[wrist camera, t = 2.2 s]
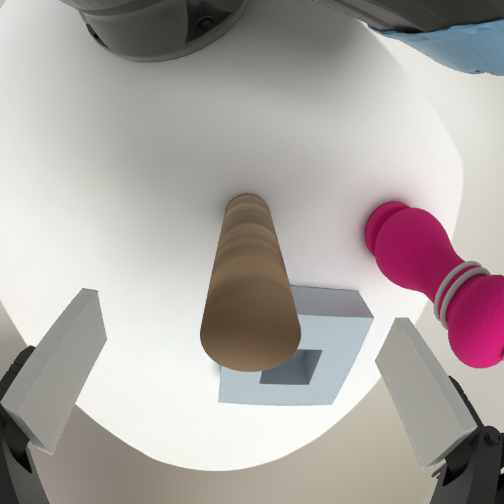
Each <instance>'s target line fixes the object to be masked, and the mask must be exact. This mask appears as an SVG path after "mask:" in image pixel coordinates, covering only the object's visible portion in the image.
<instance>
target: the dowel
mask: <svg viewBox="0 0 504 504" xmlns="http://www.w3.org/2000/svg"><path fill="white" fill-rule="evenodd" d="M200 340H201V344H202V346H203V348H204V350H205V352H206V353H207V354H208V355H209V357H210V358H212V359H213V360H214V361H215V362H217V363H218V364H220V365H222V366H224V367H226V368H229V369H232V370H236V371H241V372H259V371H264V370H268V369H271V368H274V367H276V366H279V365H280V364H282V363H284V362H285V361H286V360H288V359H289V358H290V357H291V356H292V355H293V354H294V353H295V351H296V350H297V348H298V346H299V344H300V340H301V327H300V323H299V319H298V315H297V311H296V307H295V303H294V299H293V296H292V292H291V288H290V284H289V280H288V276H287V273H286V269H285V265H284V261H283V258H282V254H281V250H280V247H279V243H278V239H277V236H276V232H275V229H274V225H273V221H272V218H271V214H270V211H269V208H268V206H267V204H266V203H265V202H264V200H262V199H261V198H260V197H258V196H255V195H251V194H244V195H240V196H238V197H236V198H234V199H233V200H232V201H231V202H230V203H229V204H228V206H227V208H226V212H225V216H224V220H223V225H222V229H221V234H220V238H219V242H218V247H217V252H216V256H215V261H214V266H213V270H212V275H211V280H210V285H209V289H208V294H207V299H206V304H205V309H204V314H203V319H202V325H201V330H200Z"/></svg>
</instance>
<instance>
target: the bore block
mask: <svg viewBox="0 0 504 504" xmlns="http://www.w3.org/2000/svg"><path fill="white" fill-rule="evenodd" d="M290 288H291V292H292V296H293V299H294V303H295V307H296V311H297V315H298V319H299V323H300V327H301V340H300V344H299V346H298V348H297V350H296V351H295V353H294V354H293V355H292V356H291V357H290V358H289V359H288V360H286V361H285V362H284V363H282V364H280V365H279V366H276V367H274V368H271V369H268V370H264V371H259V372H241V371H236V370H232V369H229V368H226V367H224V366H222V365H221V374H220V387H219V400H218V402H221V403H234V404H249V405H276V406H305V405H332V404H333V402H334V400H335V398H336V396H337V395H338V393H339V391H340V389H341V387H342V385H343V383H344V381H345V379H346V378H347V376H348V374H349V372H350V370H351V368H352V366H353V364H354V361H355V359H356V357H357V355H358V353H359V351H360V349H361V347H362V344H363V342H364V340H365V338H366V336H367V333H368V331H369V329H370V326H371V324H372V322H373V319H374V317H373V315H372V314H371V312H370V310H369V308H368V307H367V305H366V303H365V302H364V300H363V298H362V297H361V295H360V293H359V292H358V291H353V290H339V289H326V288H313V287H301V286H290Z"/></svg>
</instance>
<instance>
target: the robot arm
mask: <svg viewBox="0 0 504 504" xmlns="http://www.w3.org/2000/svg"><path fill="white" fill-rule="evenodd" d="M60 1H62V2H64V3H66V4H68V5H70V6H72V7H74V8H75V9H77V10H79V12H80V14H81V16H82V18H83V20H84V22H85V23H86V26H87V28H88V30H89V32H90V34H91V36H92V37H93V39H94V40H95V41H96V42H97V43H98V44H99V45H100V46H102V47H103V48H104V49H106V50H108V51H110V52H112V53H114V54H116V55H118V56H120V57H123V58H125V59H129V60H133V61H140V62H159V61H166V60H171V59H175V58H179V57H182V56H185V55H188V54H191V53H193V52H196V51H198V50H200V49H202V48H204V47H206V46H208V45H209V44H211V43H212V42H214V41H215V40H217V39H218V38H220V37H221V36H222V35H224V34H225V33H226V32H227V31H228V30H229V29H230V28H231V27H232V26H233V25H234V24H235V23H236V22H237V20H238V19H239V18H240V16H241V15H242V13H243V11H244V10H245V8H246V5H247V3H248V0H60ZM312 1H315V2H317V3H320V4H323V5H326V6H328V7H331V8H333V9H336V10H338V11H340V12H343V13H345V14H347V15H350V16H352V17H354V18H356V19H358V20H361V21H363V22H365V23H367V25H368V27H369V28H370V29H372V30H373V31H375V32H376V33H378V34H381V35H383V36H386V37H388V38H393V39H398V40H400V41H402V42H404V43H405V44H407V45H409V46H411V47H413V48H414V49H416V50H418V51H420V52H421V53H423V54H425V55H426V56H428V57H430V58H431V59H433V60H435V61H436V62H438V63H440V64H442V65H444V66H446V67H449V68H451V69H454V70H457V71H461V72H464V73H469V74H481V73H485V72H487V73H490V74H492V75H497V76H504V0H312ZM106 341H107V337H106V333H105V328H104V323H103V318H102V313H101V308H100V303H99V297H98V291H97V290H91V289H86V288H82V289H81V291H80V292H79V293H78V294H77V295H76V297H75V298H74V299H73V300H72V301H71V303H70V304H69V305H68V306H67V308H66V309H65V310H64V311H63V313H62V314H61V315H60V316H59V318H58V319H57V320H56V322H55V323H54V324H53V325H52V327H51V328H50V329H49V331H48V332H47V333H46V335H45V336H44V337H43V339H42V340H41V341H40V343H39V344H38V346H37V347H33V346H31V345H30V346H29V347H27V348H26V349H24V350H23V351H22V352H20V354H19V355H18V356H17V358H16V359H15V361H14V364H12V365H11V366H10V368H9V371H7V372H6V374H5V375H4V376H3V378H2V380H1V381H0V504H50V503H49V501H48V499H47V497H46V494H45V492H44V489H43V487H42V484H41V482H40V479H39V477H38V474H37V471H36V468H35V465H34V462H33V459H32V456H31V453H30V450H29V448H28V446H27V444H28V442H29V440H30V441H31V442H32V443H33V444H34V446H35V447H36V448H38V449H40V450H42V451H44V452H46V453H49V454H51V455H53V454H54V451H55V449H56V447H57V444H58V442H59V439H60V437H61V434H62V432H63V430H64V427H65V425H66V423H67V420H68V418H69V416H70V413H71V411H72V409H73V407H74V405H75V402H76V400H77V398H78V396H79V394H80V392H81V390H82V388H83V386H84V383H85V381H86V379H87V377H88V375H89V373H90V371H91V369H92V367H93V365H94V363H95V361H96V360H97V358H98V356H99V354H100V352H101V350H102V348H103V346H104V344H105V342H106ZM375 362H376V364H377V367H378V369H379V371H380V373H381V375H382V377H383V379H384V382H385V384H386V386H387V388H388V390H389V392H390V395H391V397H392V399H393V401H394V404H395V406H396V408H397V410H398V413H399V415H400V418H401V420H402V422H403V425H404V427H405V430H406V432H407V434H408V437H409V439H410V442H411V444H412V447H413V449H414V452H415V455H416V457H417V460H418V462H419V465H420V467H421V470H425V469H428V468H430V467H433V466H436V465H437V464H438V463H439V462H440V461H441V460H443V459H444V458H445V460H446V463H445V464H444V465H442V466H441V467H440V468H439V469H437V470H436V471H435V472H434V473H433V474H432V477H434V476H435V475H437V474H438V473H439V472H440V475H438V476H437V477H436V478H437V479H438V482H437V485H436V488H435V491H434V494H433V496H432V499H431V502H430V504H504V473H503V474H501V471H500V470H501V469H502V468H503V467H504V433H500V432H499V431H498V430H497V429H496V428H494V427H493V426H486V427H485V426H484V425H483V424H482V422H481V420H480V418H479V417H478V415H477V413H476V411H475V410H474V408H473V406H472V404H471V403H470V401H468V398H467V396H466V395H465V394H464V391H463V390H462V388H461V386H460V385H459V383H458V382H457V381H456V380H455V379H453V378H452V377H451V376H447V374H446V373H445V371H444V369H443V368H442V366H441V364H440V363H439V362H438V360H437V358H436V357H435V356H434V354H433V352H432V351H431V349H430V348H429V347H428V345H427V344H426V342H425V341H424V339H423V338H422V336H421V335H420V334H419V332H418V331H417V329H416V328H415V326H414V325H413V324H412V322H411V321H410V320H409V318H395V320H394V322H393V325H392V327H391V329H390V331H389V333H388V335H387V338H386V340H385V342H384V344H383V346H382V348H381V350H380V352H379V354H378V356H377V358H376V360H375Z"/></svg>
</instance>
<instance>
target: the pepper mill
mask: <svg viewBox="0 0 504 504" xmlns="http://www.w3.org/2000/svg"><path fill="white" fill-rule="evenodd" d="M365 241H366V245H367V247H368V249H369V250H370V252H371V253H372V254H373V255H374V256H375V257H376V262H377V264H378V267H379V269H380V270H381V272H382V273H383V274H384V275H385V276H386V277H387V278H388V279H389V280H390V281H391V282H393V283H394V284H396V285H399V286H401V287H403V288H406V289H410V290H415V291H419V292H422V293H424V294H425V295H426V296H427V297H428V298H429V299H430V300H431V301H432V302H433V304H434V314H435V316H436V318H437V319H438V320H439V321H440V322H441V324H442V325H443V327H444V328H445V329H447V330H448V339H449V343H450V346H451V349H452V350H453V352H454V354H455V355H456V356H457V357H458V358H459V360H460V361H461V362H463V363H464V364H466V365H468V366H470V367H473V368H488V367H491V366H493V365H496V364H498V363H499V362H500V361H502V360H503V359H504V276H502V275H491V274H490V272H489V271H488V270H487V269H485V268H483V267H482V266H481V264H479V263H478V262H475V261H468V262H465V261H464V260H462V259H461V258H460V257H459V256H458V255H457V254H456V252H455V251H454V249H453V247H452V245H451V243H450V240H449V238H448V235H447V233H446V231H445V229H444V228H443V226H442V225H441V223H440V222H439V221H438V220H437V219H436V218H435V217H434V216H433V215H431V214H430V213H429V212H427V211H425V210H422V209H419V208H410V207H409V206H407V205H405V204H403V203H400V202H389V203H385V204H383V205H382V206H380V207H378V208H377V209H376V210H375V211H374V212H373V214H372V215H371V216H370V218H369V220H368V222H367V225H366V228H365Z"/></svg>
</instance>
